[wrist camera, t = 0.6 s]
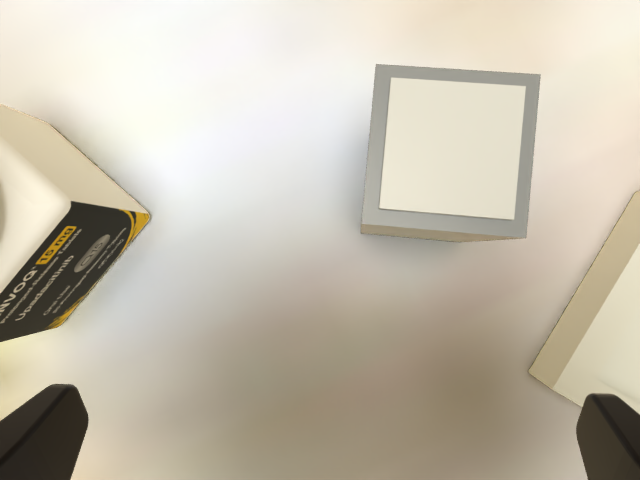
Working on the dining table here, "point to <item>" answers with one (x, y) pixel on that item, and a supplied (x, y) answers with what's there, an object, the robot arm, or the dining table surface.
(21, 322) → the yellow black printed box
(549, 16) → the dining table surface
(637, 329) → the tray
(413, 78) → the grey tall block
